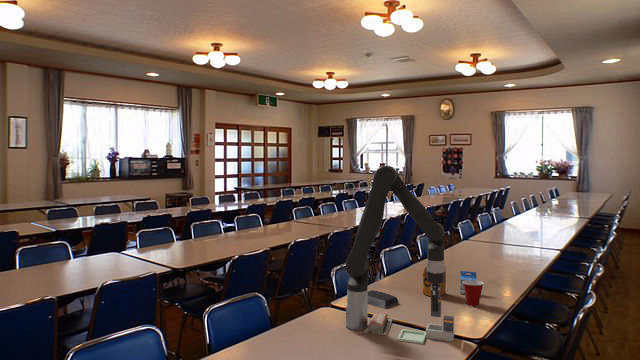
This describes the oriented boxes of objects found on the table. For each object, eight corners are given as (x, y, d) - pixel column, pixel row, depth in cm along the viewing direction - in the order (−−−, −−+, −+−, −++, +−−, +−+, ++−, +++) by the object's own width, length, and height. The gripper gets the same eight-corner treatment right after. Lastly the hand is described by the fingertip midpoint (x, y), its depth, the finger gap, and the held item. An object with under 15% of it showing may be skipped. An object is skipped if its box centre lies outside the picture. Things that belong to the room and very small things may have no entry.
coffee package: (419, 293, 249) (419, 255, 248) (434, 290, 256) (434, 252, 255) (433, 298, 240) (433, 258, 239) (448, 294, 248) (448, 255, 246)
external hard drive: (383, 309, 224) (383, 301, 224) (356, 300, 239) (356, 293, 238) (399, 304, 233) (399, 296, 233) (372, 295, 247) (372, 288, 247)
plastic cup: (480, 301, 235) (481, 279, 235) (486, 308, 224) (486, 284, 224) (459, 300, 236) (460, 278, 236) (464, 307, 225) (464, 284, 225)
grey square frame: (425, 339, 186) (425, 318, 186) (428, 332, 194) (428, 311, 193) (452, 342, 183) (453, 321, 182) (454, 335, 190) (454, 314, 190)
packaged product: (386, 326, 189) (364, 324, 192) (386, 337, 189) (364, 335, 192) (392, 312, 206) (371, 310, 209) (392, 322, 207) (371, 320, 210)
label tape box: (460, 294, 247) (460, 272, 247) (459, 292, 251) (460, 270, 251) (476, 295, 245) (476, 273, 244) (476, 293, 249) (476, 271, 248)
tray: (397, 341, 184) (397, 338, 184) (401, 332, 194) (401, 328, 194) (423, 345, 180) (423, 341, 180) (426, 335, 190) (426, 332, 190)
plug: (430, 316, 187) (430, 297, 187) (431, 313, 191) (431, 294, 191) (440, 317, 186) (440, 298, 185) (441, 314, 190) (441, 295, 189)
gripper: (428, 265, 196) (429, 303, 196) (424, 273, 182) (424, 314, 183) (446, 266, 193) (446, 305, 194) (443, 274, 180) (443, 316, 180)
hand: (435, 309), depth 188 cm, fingers closed on plug, 4 cm apart
